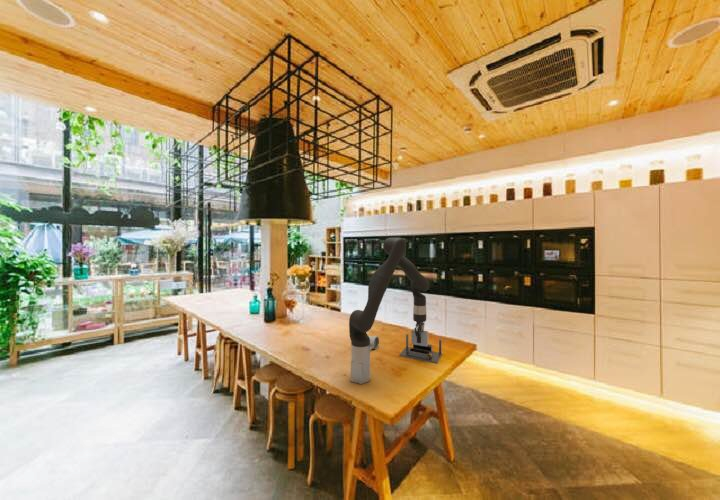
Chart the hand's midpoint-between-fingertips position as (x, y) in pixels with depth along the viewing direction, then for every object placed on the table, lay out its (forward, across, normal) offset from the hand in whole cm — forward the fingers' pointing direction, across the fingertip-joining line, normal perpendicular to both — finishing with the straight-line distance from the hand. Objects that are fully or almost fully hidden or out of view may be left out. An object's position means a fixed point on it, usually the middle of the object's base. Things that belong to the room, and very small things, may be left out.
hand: (419, 341), depth 157 cm
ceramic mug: (+9, -1, +31) cm, 33 cm away
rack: (+9, +3, 0) cm, 10 cm away
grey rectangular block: (+2, 0, 0) cm, 2 cm away
